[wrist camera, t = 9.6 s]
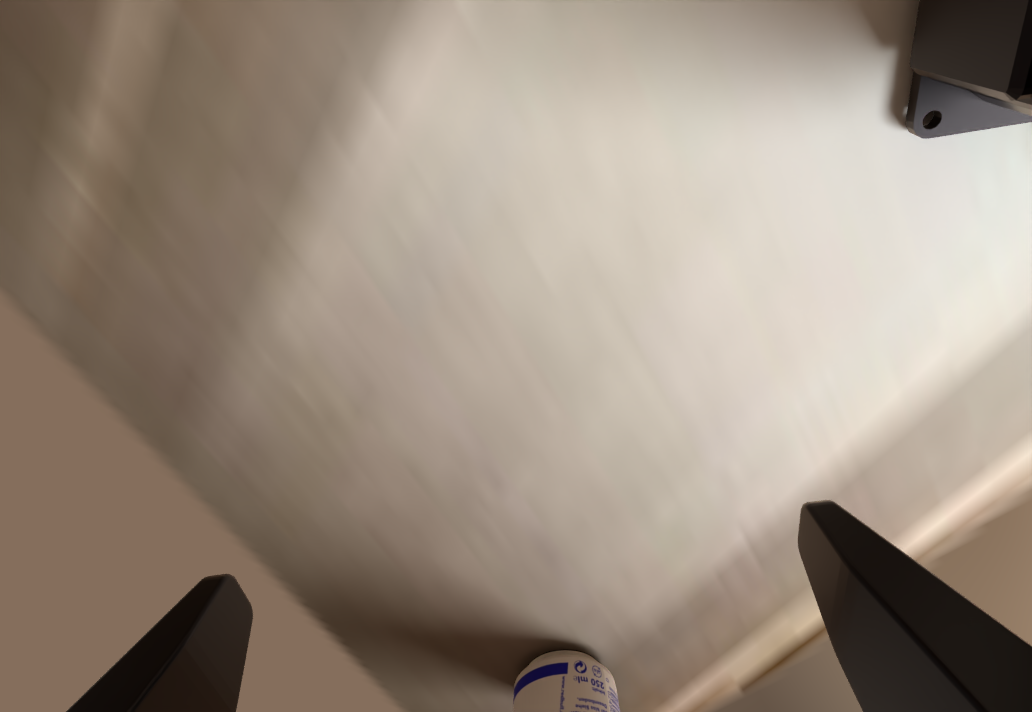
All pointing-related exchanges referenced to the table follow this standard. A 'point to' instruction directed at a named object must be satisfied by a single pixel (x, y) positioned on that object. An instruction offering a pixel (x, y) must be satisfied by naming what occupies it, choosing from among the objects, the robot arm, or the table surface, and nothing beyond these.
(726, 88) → the table surface
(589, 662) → the beverage can
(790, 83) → the table surface
